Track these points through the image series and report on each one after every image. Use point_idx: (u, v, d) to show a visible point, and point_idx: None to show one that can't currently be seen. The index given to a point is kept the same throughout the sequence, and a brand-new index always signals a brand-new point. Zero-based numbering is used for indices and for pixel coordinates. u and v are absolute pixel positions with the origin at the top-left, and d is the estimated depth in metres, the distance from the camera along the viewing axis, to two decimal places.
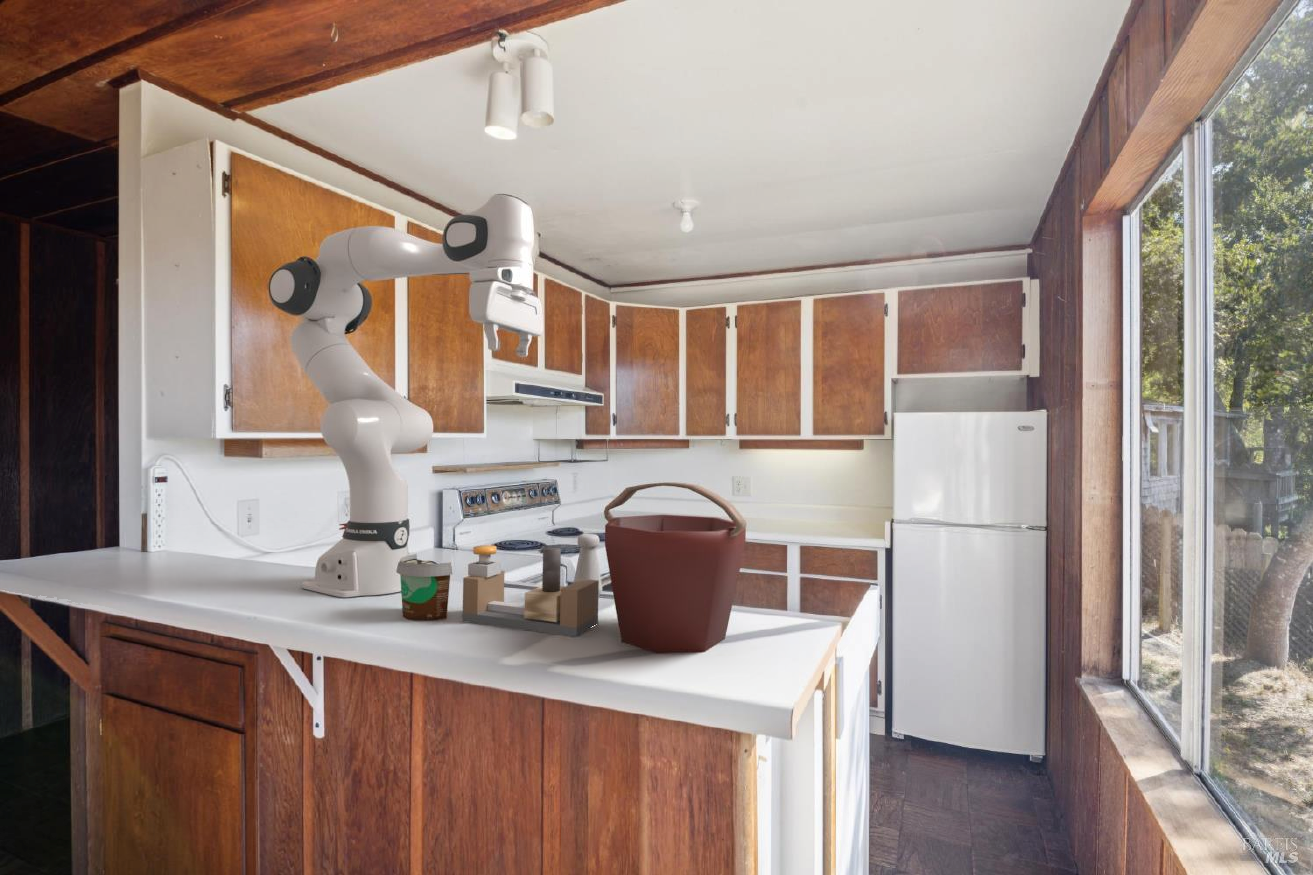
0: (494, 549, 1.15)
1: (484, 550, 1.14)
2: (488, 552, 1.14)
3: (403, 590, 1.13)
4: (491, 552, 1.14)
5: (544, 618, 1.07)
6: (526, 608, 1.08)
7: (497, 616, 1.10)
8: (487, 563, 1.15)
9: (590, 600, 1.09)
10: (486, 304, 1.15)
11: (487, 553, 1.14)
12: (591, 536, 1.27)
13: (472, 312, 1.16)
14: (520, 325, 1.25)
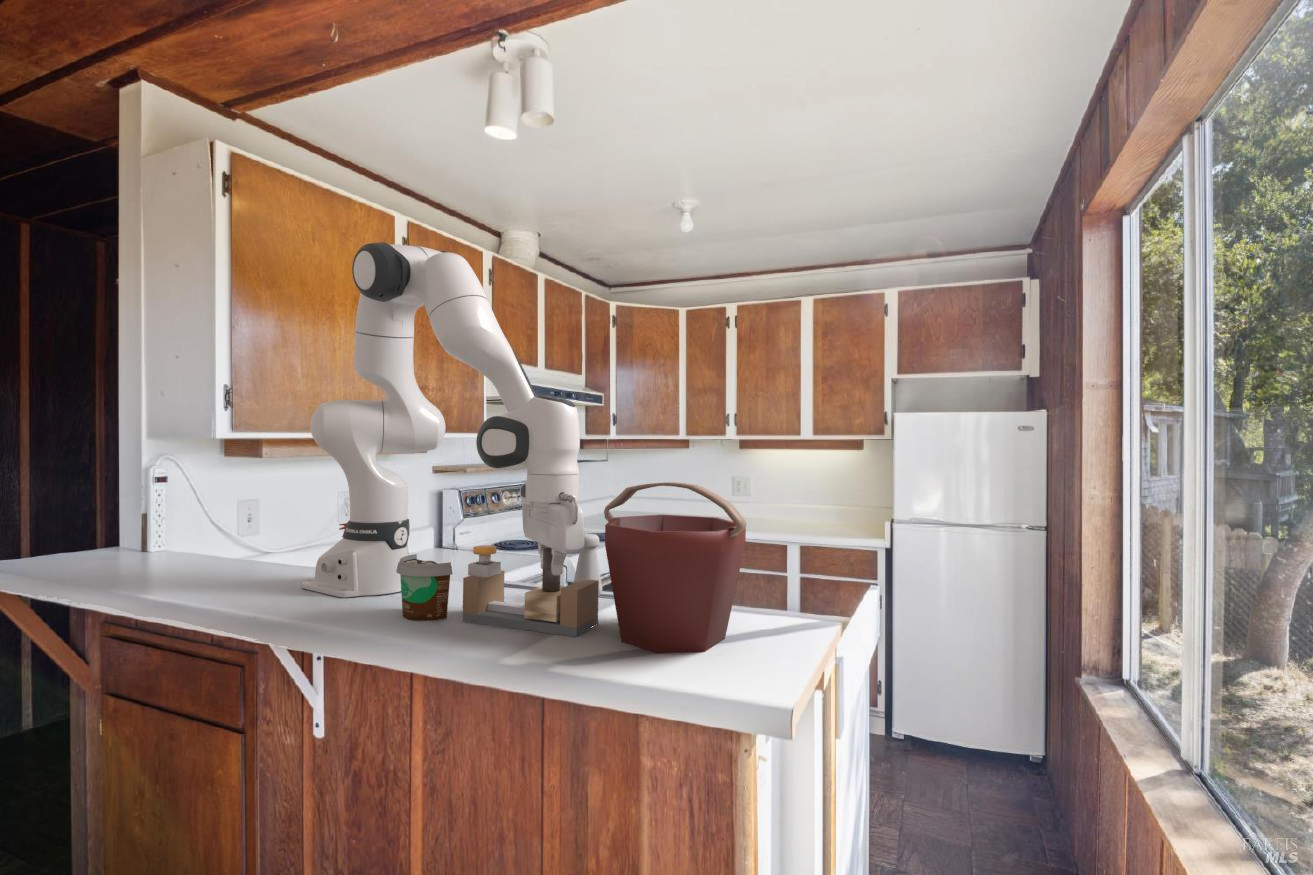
0: (494, 549, 1.15)
1: (484, 550, 1.14)
2: (488, 552, 1.14)
3: (403, 590, 1.13)
4: (491, 552, 1.14)
5: (544, 618, 1.07)
6: (526, 608, 1.08)
7: (497, 616, 1.10)
8: (487, 563, 1.15)
9: (590, 600, 1.09)
10: None
11: (487, 553, 1.14)
12: (591, 536, 1.27)
13: None
14: (543, 541, 1.09)
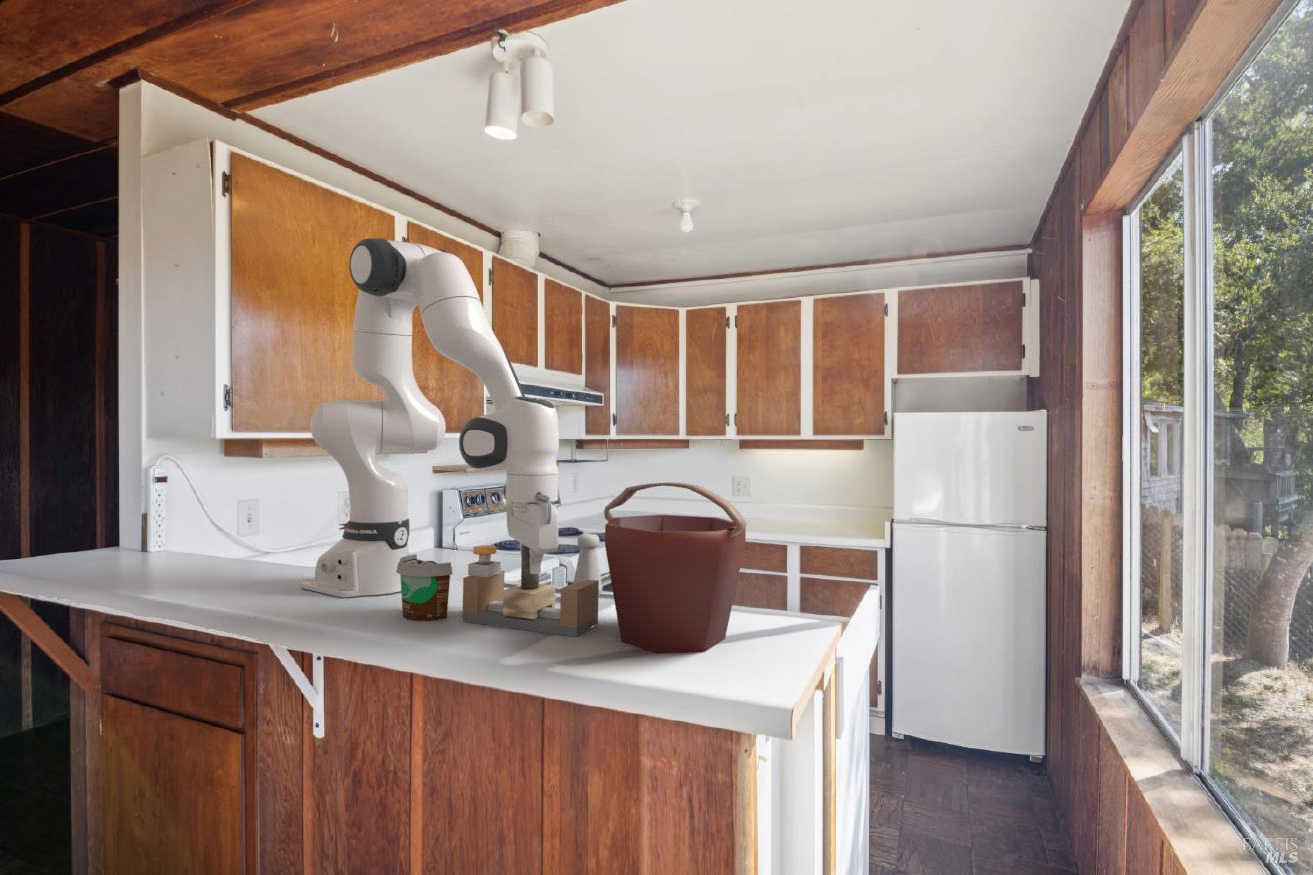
0: (494, 549, 1.15)
1: (484, 550, 1.14)
2: (488, 552, 1.14)
3: (403, 590, 1.13)
4: (491, 552, 1.14)
5: (522, 615, 1.09)
6: (504, 605, 1.10)
7: (497, 616, 1.10)
8: (487, 563, 1.15)
9: (590, 600, 1.09)
10: None
11: (487, 553, 1.14)
12: (591, 536, 1.27)
13: None
14: (522, 541, 1.11)
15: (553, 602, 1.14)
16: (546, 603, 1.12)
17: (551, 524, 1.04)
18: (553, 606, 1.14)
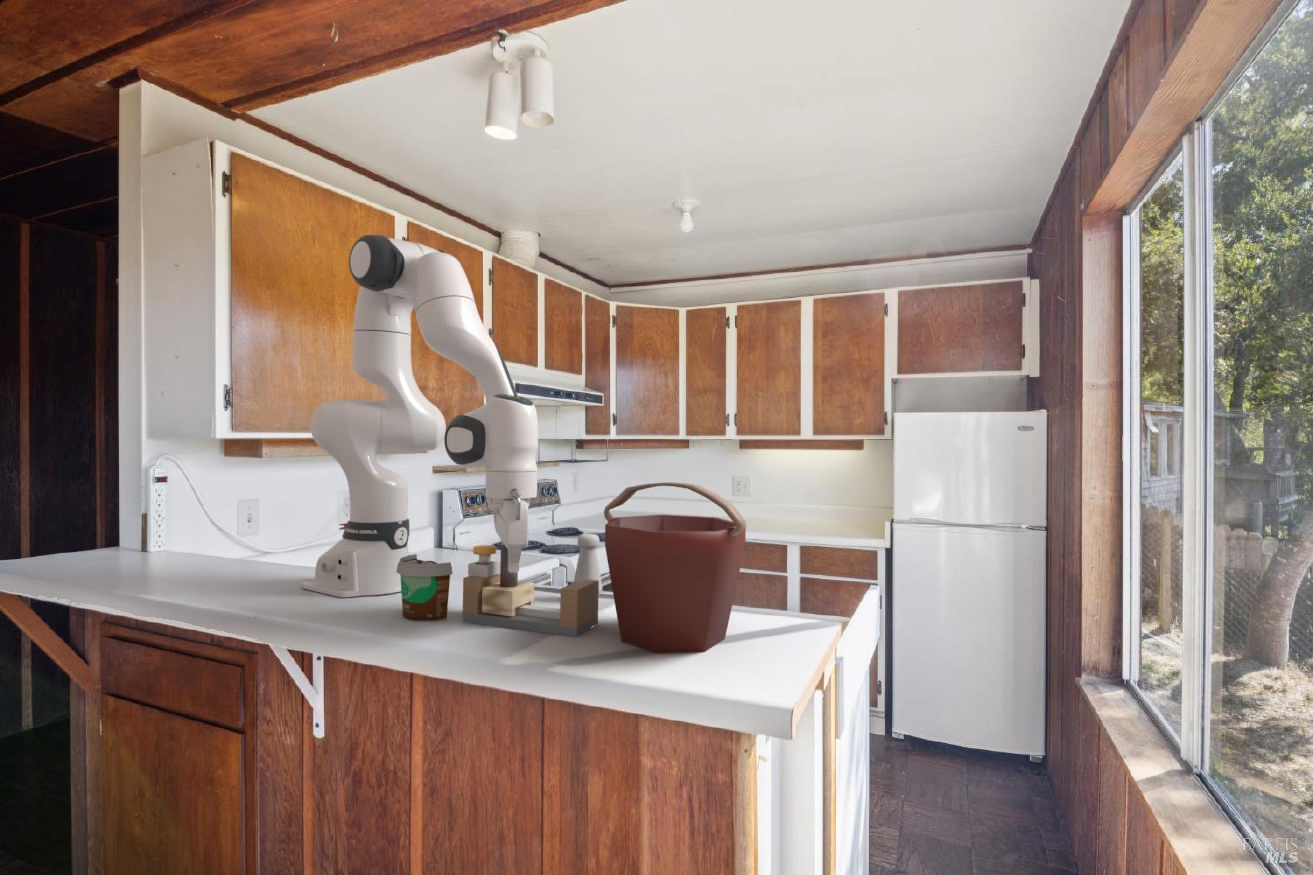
0: (494, 549, 1.15)
1: (484, 550, 1.14)
2: (488, 552, 1.14)
3: (403, 590, 1.13)
4: (491, 552, 1.14)
5: (500, 612, 1.10)
6: (483, 602, 1.11)
7: (497, 616, 1.10)
8: (487, 563, 1.15)
9: (590, 600, 1.09)
10: None
11: (487, 553, 1.14)
12: (591, 536, 1.27)
13: None
14: (500, 536, 1.12)
15: (532, 600, 1.15)
16: (525, 600, 1.13)
17: (521, 520, 1.05)
18: (533, 603, 1.16)
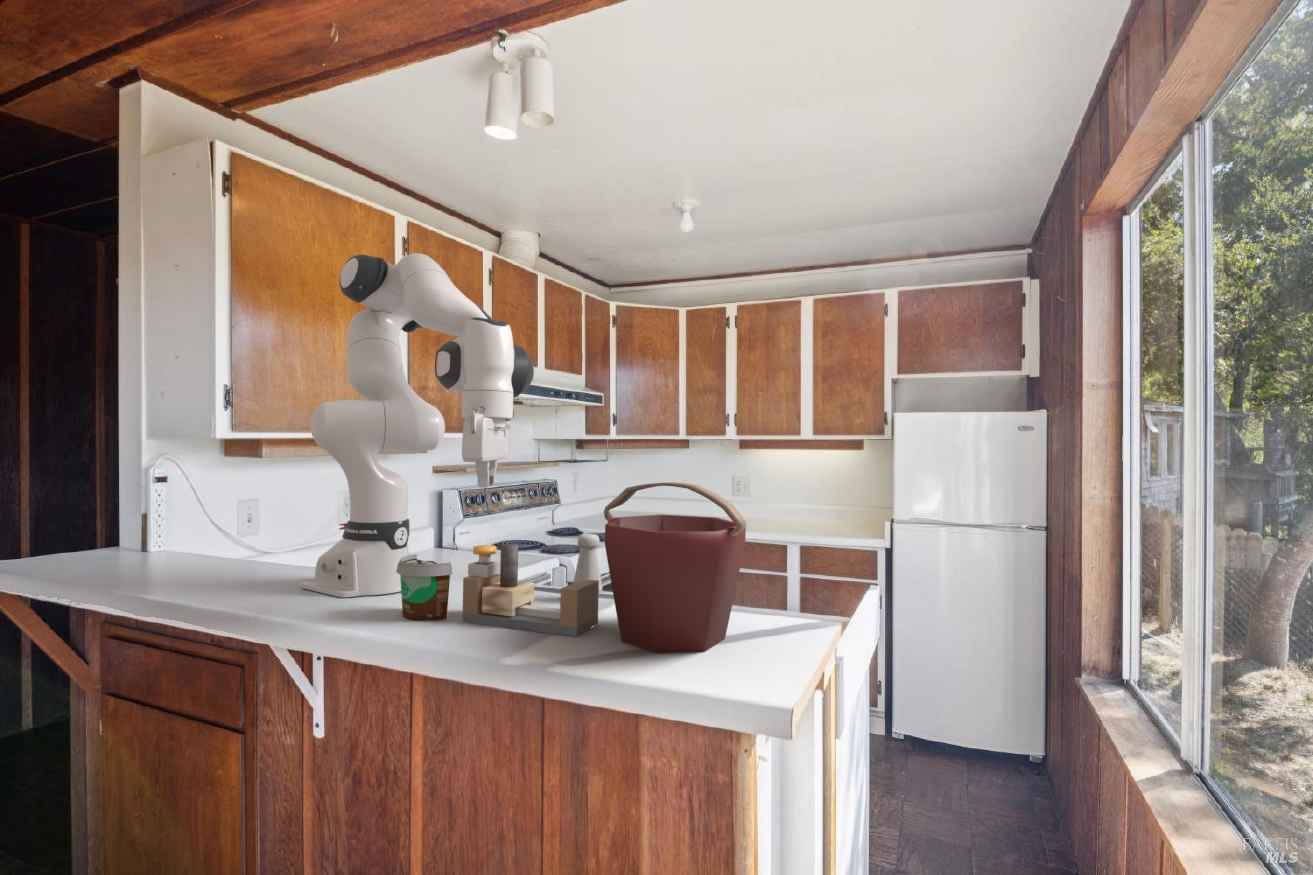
0: (494, 549, 1.15)
1: (484, 550, 1.14)
2: (488, 552, 1.14)
3: (403, 590, 1.13)
4: (491, 552, 1.14)
5: (500, 612, 1.10)
6: (483, 602, 1.11)
7: (497, 616, 1.10)
8: (487, 563, 1.15)
9: (590, 600, 1.09)
10: None
11: (487, 553, 1.14)
12: (591, 536, 1.27)
13: None
14: None
15: (532, 600, 1.15)
16: (525, 600, 1.13)
17: (476, 434, 1.06)
18: (533, 603, 1.16)
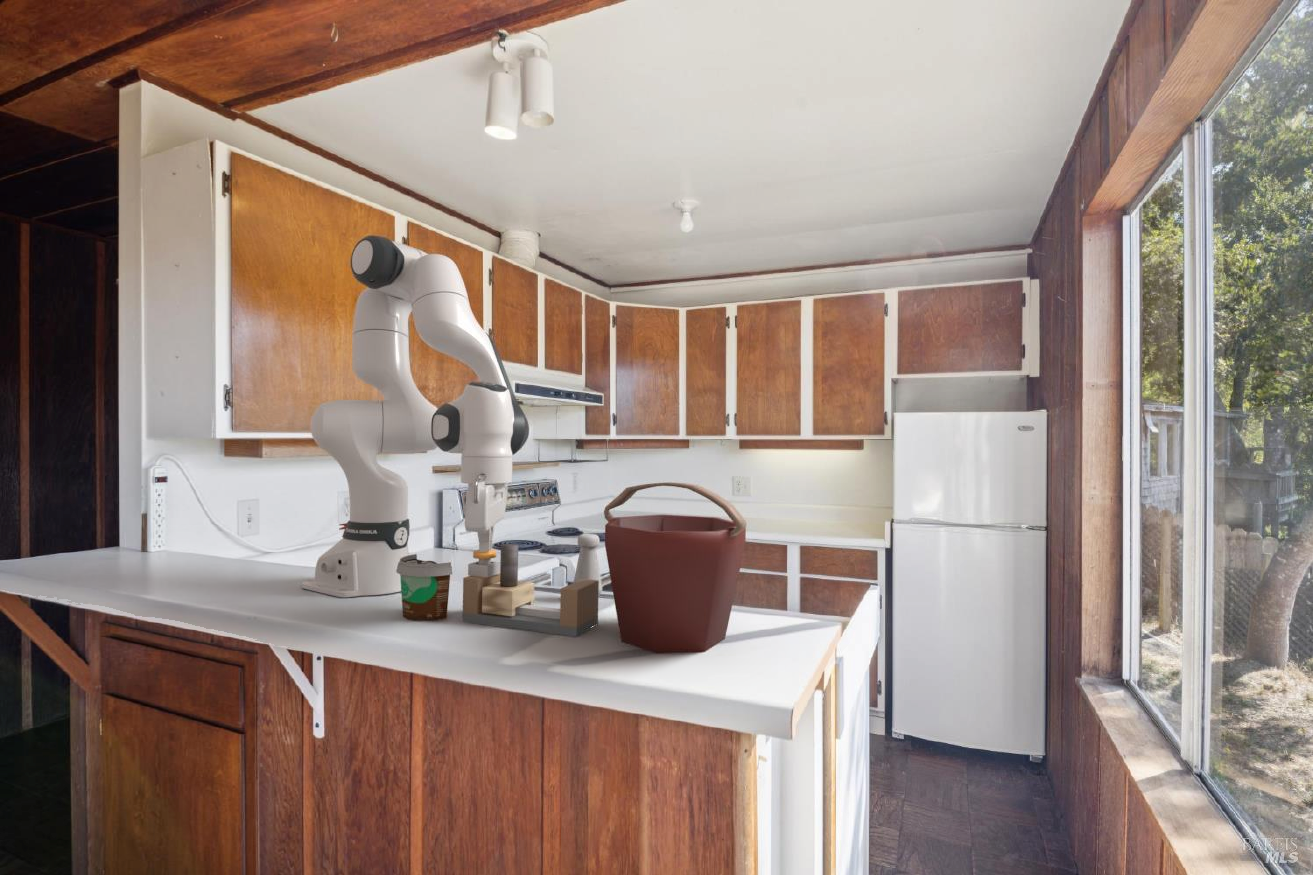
0: (494, 553, 1.15)
1: (484, 554, 1.14)
2: (488, 556, 1.14)
3: (403, 590, 1.13)
4: (491, 556, 1.14)
5: (500, 612, 1.10)
6: (483, 602, 1.11)
7: (497, 616, 1.10)
8: None
9: (590, 600, 1.09)
10: None
11: (487, 557, 1.14)
12: (591, 536, 1.27)
13: None
14: None
15: (532, 600, 1.15)
16: (525, 600, 1.13)
17: (479, 504, 1.06)
18: (533, 603, 1.16)
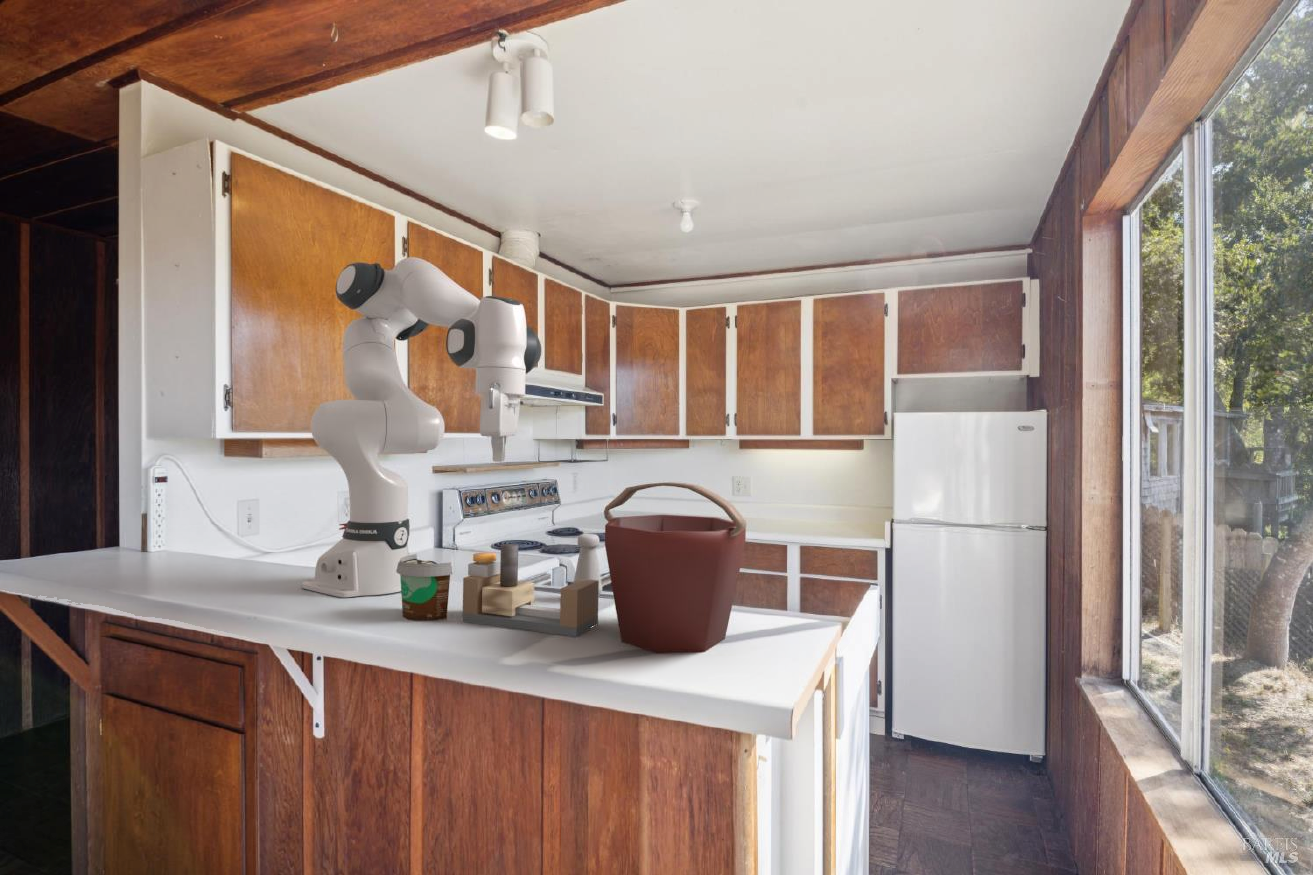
0: (494, 556, 1.15)
1: (484, 557, 1.14)
2: (488, 560, 1.14)
3: (403, 590, 1.13)
4: (491, 559, 1.14)
5: (500, 612, 1.10)
6: (483, 602, 1.11)
7: (497, 616, 1.10)
8: None
9: (590, 600, 1.09)
10: None
11: (487, 560, 1.14)
12: (591, 536, 1.27)
13: None
14: None
15: (532, 600, 1.15)
16: (525, 600, 1.13)
17: (494, 409, 1.09)
18: (533, 603, 1.16)
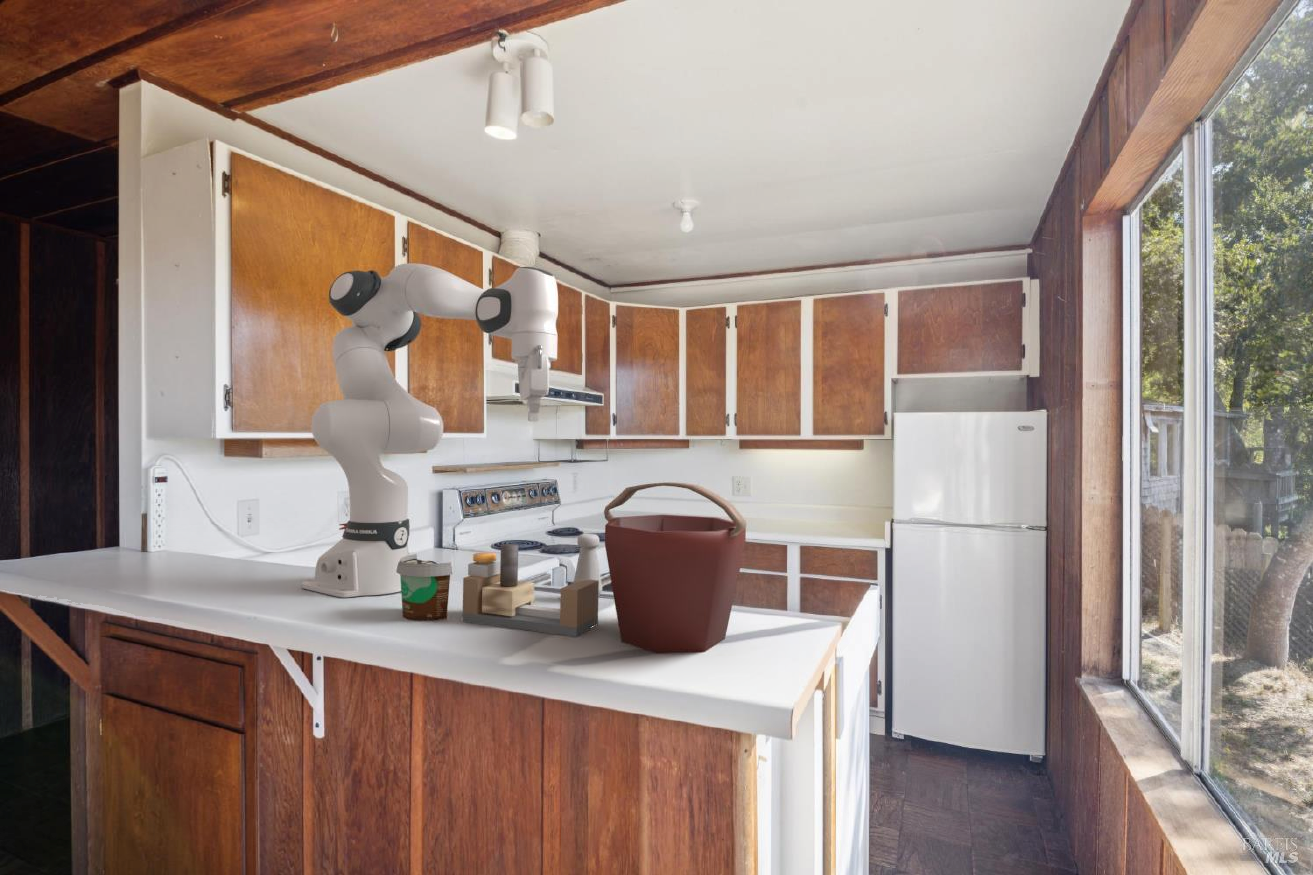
0: (494, 556, 1.15)
1: (484, 557, 1.14)
2: (488, 560, 1.14)
3: (403, 590, 1.13)
4: (491, 559, 1.14)
5: (500, 612, 1.10)
6: (483, 602, 1.11)
7: (497, 616, 1.10)
8: None
9: (590, 600, 1.09)
10: None
11: (487, 560, 1.14)
12: (591, 536, 1.27)
13: None
14: (524, 393, 1.26)
15: (532, 600, 1.15)
16: (525, 600, 1.13)
17: (542, 369, 1.18)
18: (533, 603, 1.16)
